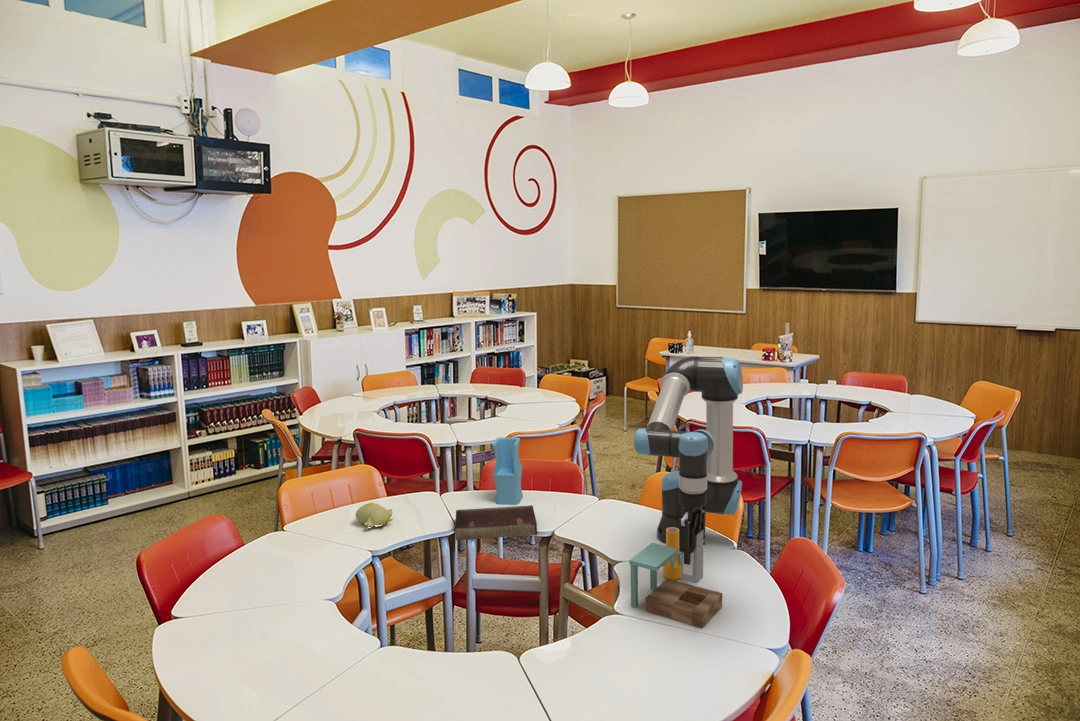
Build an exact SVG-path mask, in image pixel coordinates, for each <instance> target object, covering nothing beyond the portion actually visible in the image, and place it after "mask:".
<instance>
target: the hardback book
mask: <svg viewBox="0 0 1080 721" xmlns="http://www.w3.org/2000/svg"><path fill="white" fill-rule="evenodd" d="M455 511H456V512H455V522H454V524H455V526H454V531H455V532H454V533H455V541H462V540H464V541H465V540H476V539H477V540H478V539H479V540H481V539H492V538H493V539H497V538H507V537H509V538H510V537H512V538H513V537H524V536H525V537H526V536H537V535H538V522H537V518H536V514H535V510H534V506H533V505H532V504H531V505H514V506H500V507H487V508H486V507H484V508H483V507H482V508H469V509H467V508H466V509H456V510H455Z"/></svg>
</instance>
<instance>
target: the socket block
mask: <svg viewBox="0 0 1080 721" xmlns="http://www.w3.org/2000/svg"><path fill="white" fill-rule="evenodd" d="M644 602H645V604H644V605H645V612H647V613H650V614H653V615H658V616H661V617H663V618H667V619H670V620H673V621H677V622H680V623H683V624H687V625H690V626H693V627H695V628H696V627H697V628H699V629H703V628H704V627H705V626H706V625H707V624H708V623H709V622H710V620H711V619H713V617H714V616H715V615H716V614H717V613H718V612H719V611H720V610H721V609H722V607H723V593H722V592H719V591H715V590H712V589H708V588H704V587H701V586H697V585H692V584H689V583H686V582H682V581H679V580H676V579H675V580H672V579H668V578H665V580H663V582H661V583H660V585H657V588H656V589H655V590H652V591H651V592H650V593H649V594H648V595H647V596H646V597H645V598H644Z"/></svg>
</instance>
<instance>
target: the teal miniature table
mask: <svg viewBox="0 0 1080 721" xmlns="http://www.w3.org/2000/svg"><path fill="white" fill-rule="evenodd" d="M677 554H678V549H676V548H672V547H667V546H666V545H662V544H659V543H653V542H650V544H649V545H647V546H646V547H644V548H643V549H642V550H640V551H639V552H638V553H637V554H635V555H633V557H631V558H630V559H629V561H628V565H630V607H633V608H637V607H638V606H639V568H643V569H646V570H649V575H650V576H649V577H650V578H649V587H650V590H652V591H654V590H655V589H656V588H657V587H658V571H659V570H660V569H661V568H663V565H665V564H666V563H667V562H668V561H669V560H671V559H672V558H673V557H674V556H675V555H677Z"/></svg>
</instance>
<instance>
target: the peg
mask: <svg viewBox="0 0 1080 721" xmlns="http://www.w3.org/2000/svg"><path fill="white" fill-rule="evenodd" d="M703 542H704V540H703V529H694V534H693V548H692V552H694V573H693V576H691V575H687V574H683V553H682V552H681V578H680V580H681V581H684V582H687V583H693V584H698V583H699V582H700V581H701V580H703V578H704V545H703Z"/></svg>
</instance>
